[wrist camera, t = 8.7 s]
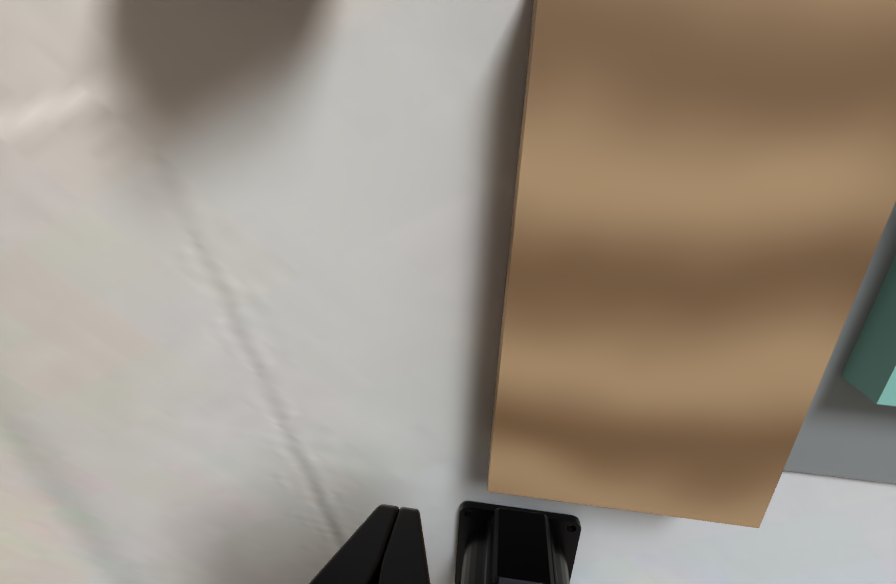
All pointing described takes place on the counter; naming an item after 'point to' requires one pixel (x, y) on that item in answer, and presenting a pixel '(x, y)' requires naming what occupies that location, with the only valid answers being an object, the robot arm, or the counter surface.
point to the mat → (851, 398)
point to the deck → (686, 243)
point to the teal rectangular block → (877, 348)
